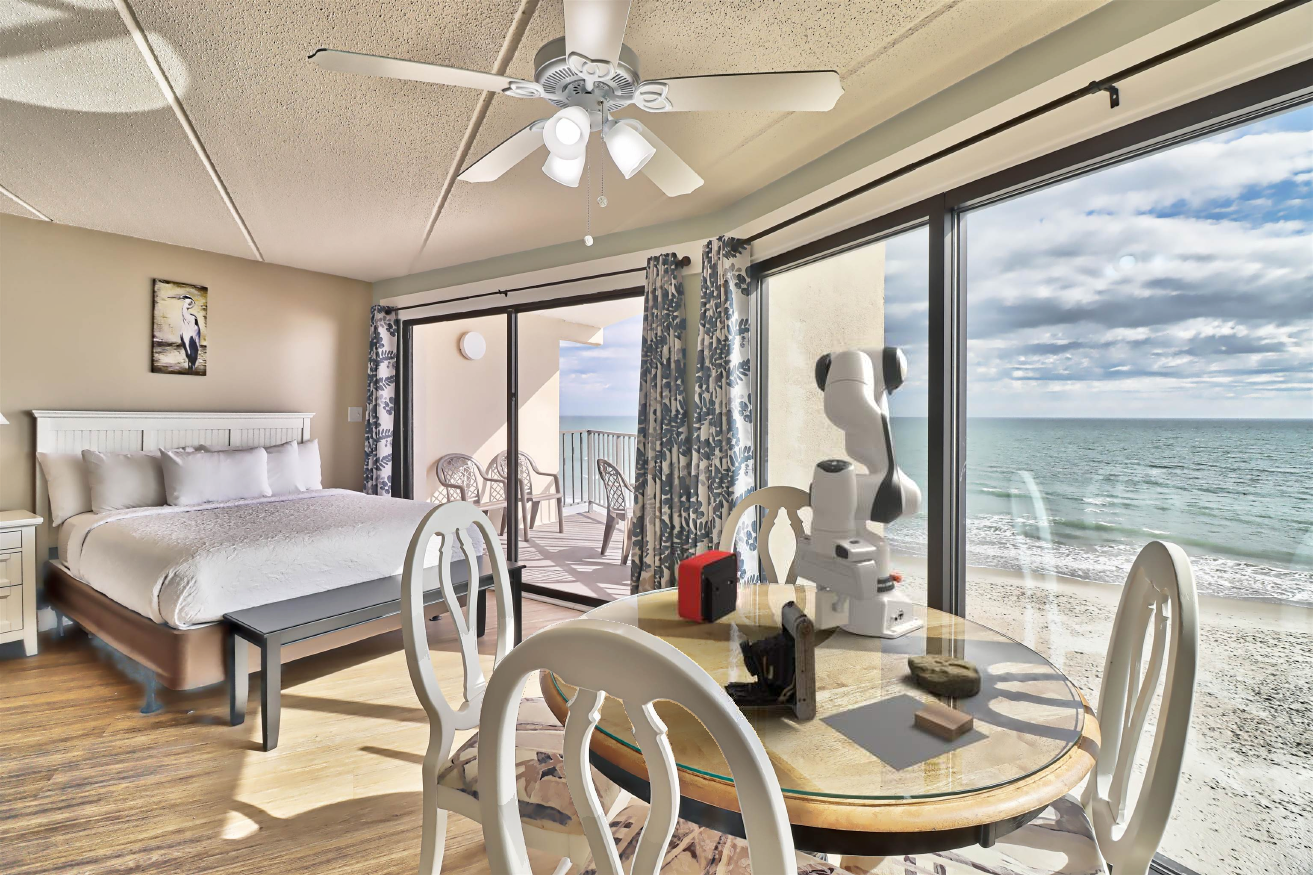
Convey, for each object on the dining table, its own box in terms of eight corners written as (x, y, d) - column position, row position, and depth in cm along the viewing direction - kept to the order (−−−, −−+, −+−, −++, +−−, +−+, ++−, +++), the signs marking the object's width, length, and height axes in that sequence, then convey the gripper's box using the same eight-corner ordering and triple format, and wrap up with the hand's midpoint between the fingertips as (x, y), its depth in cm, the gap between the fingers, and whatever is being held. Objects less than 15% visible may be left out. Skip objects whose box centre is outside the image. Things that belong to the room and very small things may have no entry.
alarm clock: (743, 607, 177) (744, 552, 176) (707, 627, 161) (707, 567, 160) (714, 601, 183) (714, 547, 182) (676, 620, 166) (676, 562, 166)
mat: (905, 696, 123) (905, 693, 123) (989, 740, 107) (989, 736, 107) (818, 721, 113) (818, 718, 113) (897, 774, 97) (897, 770, 97)
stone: (957, 707, 119) (958, 680, 119) (897, 681, 130) (897, 656, 130) (994, 691, 126) (995, 665, 126) (934, 667, 137) (935, 643, 137)
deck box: (840, 620, 128) (841, 586, 128) (848, 623, 126) (848, 589, 126) (814, 625, 125) (815, 591, 125) (821, 629, 123) (822, 594, 123)
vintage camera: (723, 703, 121) (720, 603, 120) (800, 697, 122) (799, 598, 121) (733, 730, 112) (730, 622, 110) (817, 723, 113) (815, 616, 111)
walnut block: (935, 712, 115) (935, 701, 115) (973, 728, 110) (973, 717, 110) (914, 724, 111) (914, 713, 111) (952, 740, 106) (953, 729, 106)
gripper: (787, 533, 132) (786, 596, 133) (858, 555, 114) (857, 628, 115) (810, 530, 135) (809, 592, 136) (883, 551, 117) (881, 623, 118)
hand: (831, 609), depth 125 cm, fingers closed on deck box, 2 cm apart
